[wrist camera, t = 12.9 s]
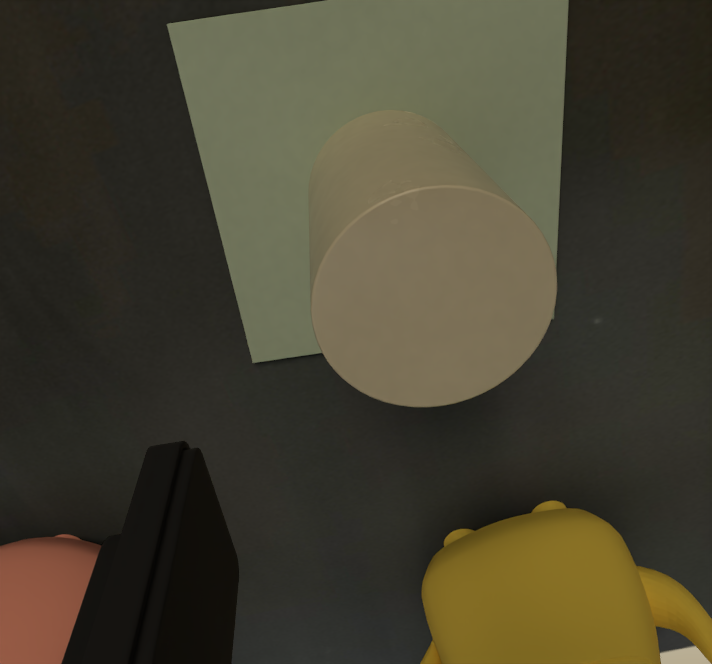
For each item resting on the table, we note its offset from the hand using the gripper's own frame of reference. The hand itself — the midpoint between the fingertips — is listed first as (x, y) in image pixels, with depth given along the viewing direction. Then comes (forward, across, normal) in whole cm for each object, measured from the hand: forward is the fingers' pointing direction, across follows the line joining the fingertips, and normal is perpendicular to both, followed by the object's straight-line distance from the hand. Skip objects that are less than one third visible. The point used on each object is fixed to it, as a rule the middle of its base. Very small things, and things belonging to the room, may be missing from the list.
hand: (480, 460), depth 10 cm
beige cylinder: (+16, -1, 0) cm, 16 cm away
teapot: (+16, -7, +23) cm, 29 cm away
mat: (+16, -1, 0) cm, 16 cm away
